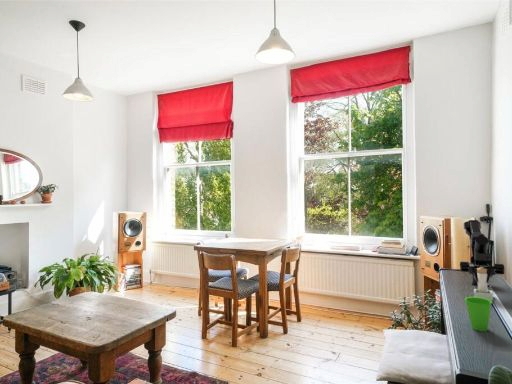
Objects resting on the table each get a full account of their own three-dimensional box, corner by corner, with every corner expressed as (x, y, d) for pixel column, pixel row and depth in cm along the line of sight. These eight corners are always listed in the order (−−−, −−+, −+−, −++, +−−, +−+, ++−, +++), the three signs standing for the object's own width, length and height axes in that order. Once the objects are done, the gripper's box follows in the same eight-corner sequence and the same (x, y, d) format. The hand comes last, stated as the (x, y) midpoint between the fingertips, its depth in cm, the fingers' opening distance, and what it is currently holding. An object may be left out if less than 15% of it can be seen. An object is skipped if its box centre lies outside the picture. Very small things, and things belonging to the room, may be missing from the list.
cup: (498, 333, 123) (497, 304, 124) (471, 332, 125) (470, 303, 126) (487, 324, 132) (485, 296, 133) (462, 323, 134) (460, 296, 134)
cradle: (474, 294, 170) (473, 288, 171) (492, 296, 166) (492, 290, 166) (474, 298, 164) (473, 292, 164) (492, 300, 160) (492, 294, 160)
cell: (478, 293, 168) (476, 266, 168) (487, 294, 166) (486, 266, 166) (478, 295, 165) (476, 267, 165) (488, 296, 163) (486, 268, 163)
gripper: (459, 246, 174) (459, 271, 165) (503, 247, 164) (505, 274, 154) (460, 258, 181) (460, 283, 171) (502, 260, 170) (505, 287, 161)
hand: (482, 282), depth 164 cm, fingers closed on cell, 4 cm apart
